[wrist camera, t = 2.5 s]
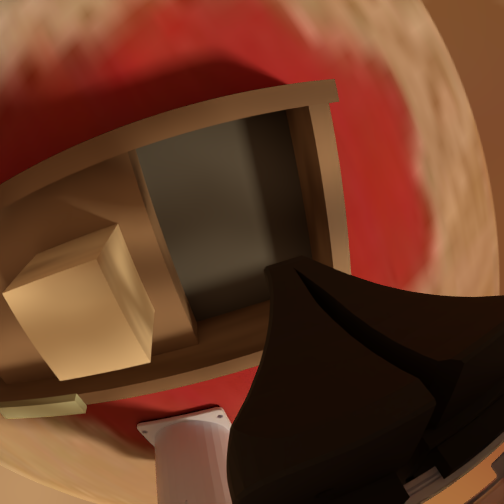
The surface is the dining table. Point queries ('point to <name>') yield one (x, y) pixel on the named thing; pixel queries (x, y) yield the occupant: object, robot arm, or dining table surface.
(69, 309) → the birch block
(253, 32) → the dining table surface
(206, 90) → the dining table surface
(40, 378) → the trap lane
